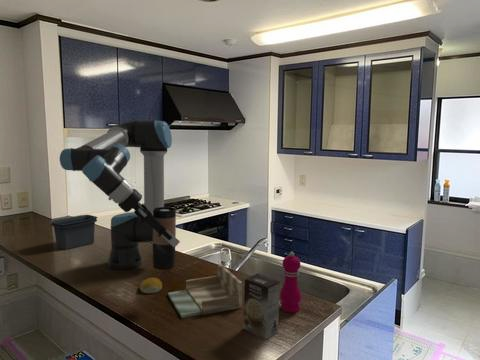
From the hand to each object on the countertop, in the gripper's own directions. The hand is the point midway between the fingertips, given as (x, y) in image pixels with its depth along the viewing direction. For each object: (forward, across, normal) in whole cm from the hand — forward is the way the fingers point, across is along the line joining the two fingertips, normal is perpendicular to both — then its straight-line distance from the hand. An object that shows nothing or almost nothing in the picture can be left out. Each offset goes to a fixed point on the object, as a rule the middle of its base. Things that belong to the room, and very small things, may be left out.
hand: (174, 241), depth 128 cm
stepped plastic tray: (+23, +2, -8) cm, 24 cm away
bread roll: (+12, -15, -20) cm, 28 cm away
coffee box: (+30, +28, -1) cm, 41 cm away
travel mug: (+4, 0, -9) cm, 9 cm away
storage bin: (-8, -87, -41) cm, 97 cm away
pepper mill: (+41, +18, +10) cm, 46 cm away
